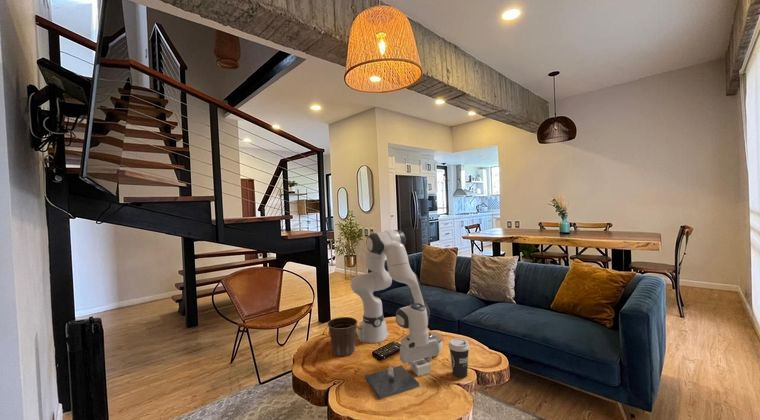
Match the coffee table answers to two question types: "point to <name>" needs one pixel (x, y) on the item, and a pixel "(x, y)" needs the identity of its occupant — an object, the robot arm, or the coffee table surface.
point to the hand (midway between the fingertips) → (420, 367)
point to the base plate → (391, 381)
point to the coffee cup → (459, 357)
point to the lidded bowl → (438, 338)
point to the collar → (421, 367)
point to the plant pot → (342, 335)
